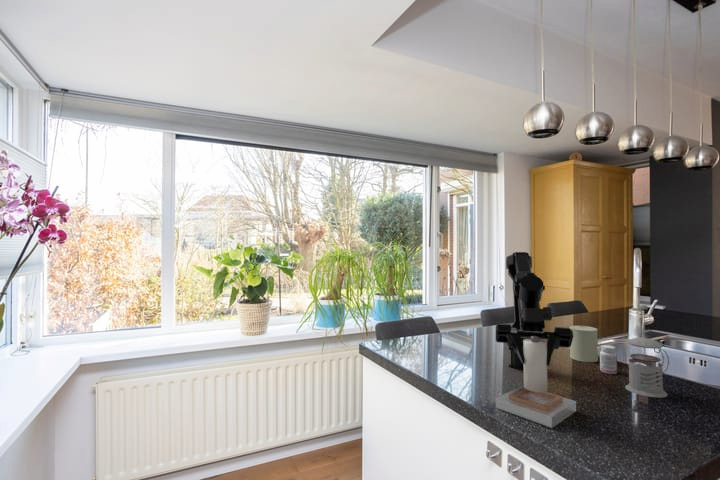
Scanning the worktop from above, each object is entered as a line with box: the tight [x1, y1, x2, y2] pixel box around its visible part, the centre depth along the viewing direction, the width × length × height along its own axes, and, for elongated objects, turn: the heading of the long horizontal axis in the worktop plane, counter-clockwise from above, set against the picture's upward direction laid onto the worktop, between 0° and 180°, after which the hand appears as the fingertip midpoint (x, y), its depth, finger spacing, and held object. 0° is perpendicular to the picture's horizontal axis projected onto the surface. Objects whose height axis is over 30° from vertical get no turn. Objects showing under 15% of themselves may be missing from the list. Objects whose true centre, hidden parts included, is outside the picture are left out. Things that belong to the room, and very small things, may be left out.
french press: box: [624, 304, 670, 399], centre depth 106 cm, size 10×12×25 cm
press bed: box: [495, 384, 577, 429], centre depth 93 cm, size 14×14×4 cm
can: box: [569, 325, 599, 363], centre depth 137 cm, size 9×9×12 cm
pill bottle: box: [599, 344, 618, 375], centre depth 122 cm, size 5×5×8 cm
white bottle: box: [523, 336, 548, 392], centre depth 94 cm, size 6×6×13 cm
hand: (535, 364), depth 93 cm, fingers closed on white bottle, 5 cm apart
